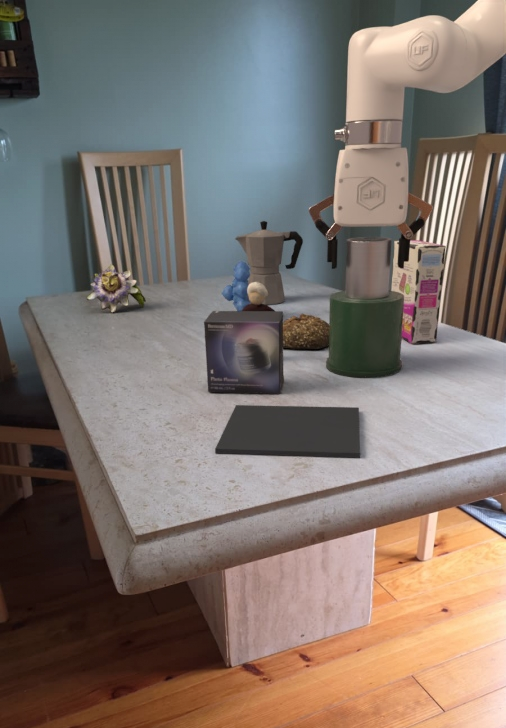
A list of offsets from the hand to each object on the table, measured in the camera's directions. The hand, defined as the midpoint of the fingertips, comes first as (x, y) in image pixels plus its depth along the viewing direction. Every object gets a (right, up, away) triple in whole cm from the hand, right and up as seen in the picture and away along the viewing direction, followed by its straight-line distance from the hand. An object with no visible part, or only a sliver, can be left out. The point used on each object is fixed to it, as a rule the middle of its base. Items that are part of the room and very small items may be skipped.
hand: (367, 267), depth 92 cm
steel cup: (0, -4, +2) cm, 4 cm away
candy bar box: (+12, -6, +22) cm, 26 cm away
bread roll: (-8, -7, +21) cm, 24 cm away
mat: (-12, -25, -17) cm, 32 cm away
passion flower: (-49, +6, +54) cm, 73 cm away
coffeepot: (-13, +8, +56) cm, 58 cm away
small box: (-18, -18, -1) cm, 25 cm away
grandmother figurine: (-16, -12, +11) cm, 23 cm away
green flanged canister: (+1, -14, +6) cm, 15 cm away
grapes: (-20, 0, +38) cm, 43 cm away
